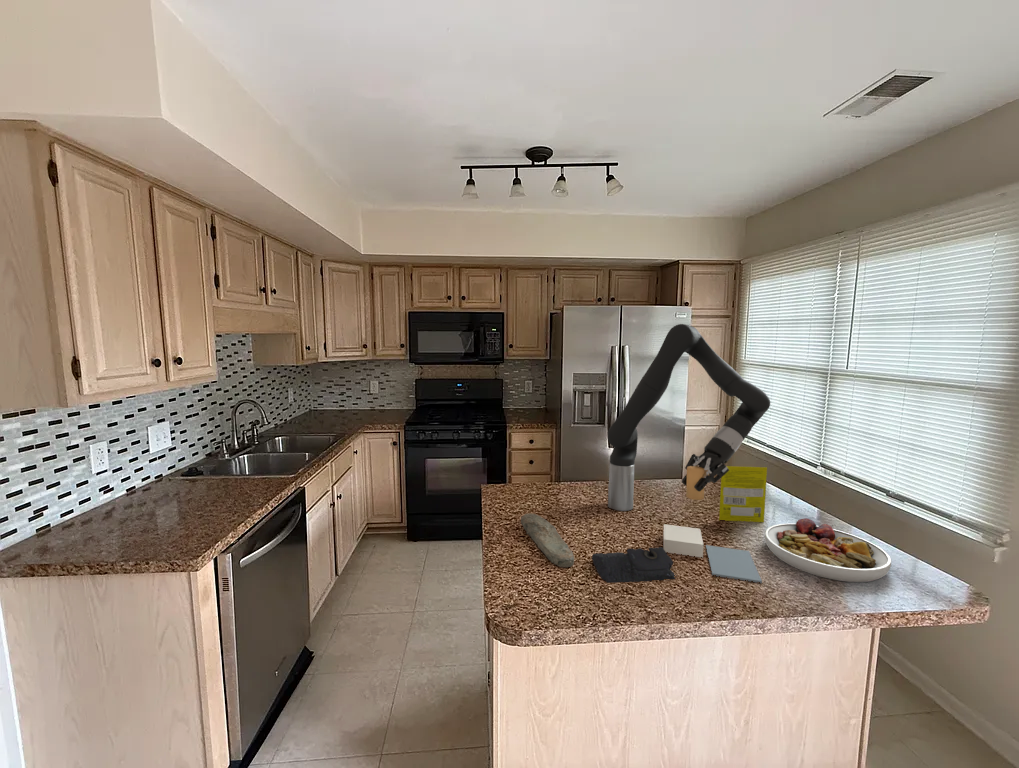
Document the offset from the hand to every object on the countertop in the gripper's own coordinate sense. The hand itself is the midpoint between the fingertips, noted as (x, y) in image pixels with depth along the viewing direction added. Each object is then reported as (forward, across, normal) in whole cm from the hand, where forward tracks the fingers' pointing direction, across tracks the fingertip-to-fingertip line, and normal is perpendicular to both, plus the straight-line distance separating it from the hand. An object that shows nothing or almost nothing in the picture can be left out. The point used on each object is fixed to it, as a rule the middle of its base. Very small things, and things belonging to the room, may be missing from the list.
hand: (690, 486), depth 133 cm
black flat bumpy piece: (+30, +4, -1) cm, 31 cm away
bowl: (-9, +16, +39) cm, 43 cm away
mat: (+10, +10, +19) cm, 24 cm away
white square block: (+14, -3, +14) cm, 20 cm away
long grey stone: (+42, -19, -14) cm, 48 cm away
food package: (-9, -13, +38) cm, 42 cm away
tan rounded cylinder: (+1, 0, +4) cm, 4 cm away
